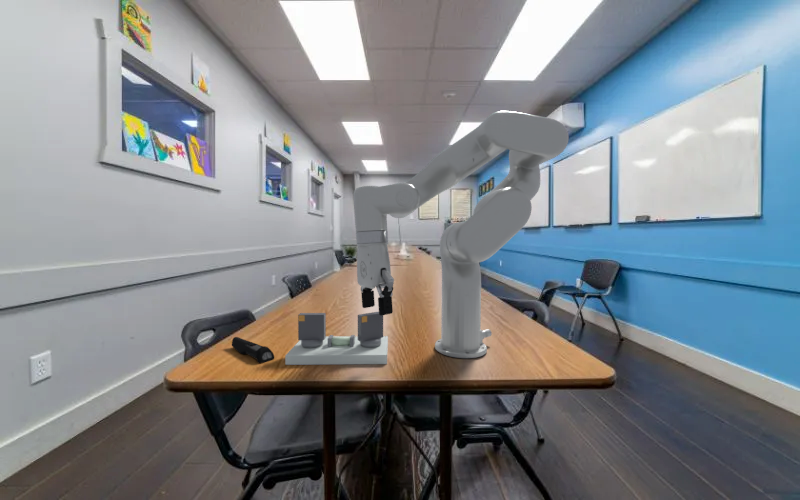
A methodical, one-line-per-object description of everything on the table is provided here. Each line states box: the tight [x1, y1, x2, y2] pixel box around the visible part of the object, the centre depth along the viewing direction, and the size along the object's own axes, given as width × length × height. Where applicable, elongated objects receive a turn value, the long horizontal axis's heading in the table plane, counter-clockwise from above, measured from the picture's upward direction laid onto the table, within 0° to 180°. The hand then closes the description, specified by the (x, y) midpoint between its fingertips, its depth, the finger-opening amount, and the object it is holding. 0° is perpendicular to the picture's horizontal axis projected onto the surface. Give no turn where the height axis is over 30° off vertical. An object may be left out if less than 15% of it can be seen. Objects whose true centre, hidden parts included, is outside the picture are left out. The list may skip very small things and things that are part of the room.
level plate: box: [284, 334, 389, 366], centre depth 71 cm, size 22×13×4 cm, turn 92°
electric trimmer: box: [231, 336, 275, 364], centre depth 71 cm, size 4×16×3 cm, turn 53°
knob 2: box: [357, 311, 384, 347], centre depth 71 cm, size 6×5×7 cm
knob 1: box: [297, 312, 327, 348], centre depth 71 cm, size 6×5×7 cm
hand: (376, 310), depth 71 cm, fingers open, 9 cm apart
